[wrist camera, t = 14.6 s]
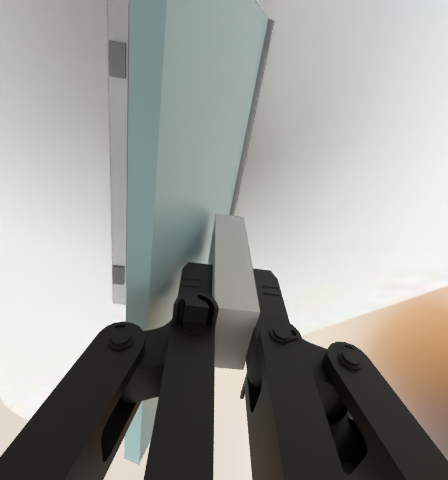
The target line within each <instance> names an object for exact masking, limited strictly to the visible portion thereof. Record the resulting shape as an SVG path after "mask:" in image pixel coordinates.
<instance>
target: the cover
mask: <svg viewBox="0 0 448 480" xmlns="http://www.w3.org/2000/svg"><path fill="white" fill-rule="evenodd" d="M273 25H274V21H273V20H270V19H268V17H267V16H266V14H265V13H264V12H263V10H262V9H261V8H260V6H259V5H258V4H257V2H256V1H255V0H130V14H129V103H128V192H127V281H126V322H130V323H134V324H136V325H138V326H140V328H141V329H142V330H143V331H146V330H152V329H156V328H160V327H162V326H164V325H166V324H167V323H168V322H170V321H171V319H172V316H173V306H174V302H175V300H176V298H177V296H178V291H179V285H180V279H181V273H182V269H183V267H184V266H185V265H186V264H187V263H188V262H194V263H202V264H208V258H209V252H210V246H211V239H212V233H213V227H214V220H215V214H216V213H218V214H225V215H232V216H234V213H235V208H236V203H237V198H238V193H239V189H240V184H241V179H242V174H243V169H244V164H245V160H246V155H247V150H248V145H249V140H250V136H251V131H252V126H253V121H254V116H255V112H256V107H257V102H258V97H259V92H260V87H261V83H262V78H263V73H264V68H265V63H266V59H267V54H268V49H269V44H270V39H271V35H272V30H273ZM158 398H159V397H155V398H152V399H148V400H144V401H141V404H140V406H139V408H138V410H137V412H136V414H135V416H134V418H133V420H132V422H131V424H130V426H129V428H128V430H127V432H126V434H125V459H127V460H130V461H132V462H134V463H136V464H138V465H139V463H140V461H141V459H142V457H143V455H144V453H145V451H146V448H147V446H148V444H149V442H150V440H151V437H152V431H153V426H154V420H155V414H156V409H157V403H158Z"/></svg>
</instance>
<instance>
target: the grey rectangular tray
mask: <svg viewBox="0 0 448 480" xmlns="http://www.w3.org/2000/svg"><path fill="white" fill-rule="evenodd" d="M129 14H130V0H107V15H108V69H109V124H110V179H111V233H112V288H113V303H115V304H125V305H126V281H127V192H128V103H129Z"/></svg>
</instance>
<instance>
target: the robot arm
mask: <svg viewBox="0 0 448 480" xmlns="http://www.w3.org/2000/svg"><path fill="white" fill-rule="evenodd" d="M245 362H246V364H247V374H246V377H245V381H244V384H243V387H242V391H241V396H240V398H241V399H243V398H244V395H245V398H246V410H247V421H248V433H249V444H250V456H251V467H252V479H253V480H448V461H447V459H446V458H445V457H444V455H443V454H442V453H441V451H440V450H439V449H438V448H437V446H436V445H435V444H434V442H433V441H432V440H431V439H430V437H429V436H428V435H427V433H426V432H425V431H424V430H423V428H422V427H421V426H420V424H419V423H418V422H417V420H416V419H415V418H414V416H413V415H412V414H411V413H410V411H409V410H408V409H407V407H406V406H405V405H404V404H403V402H402V401H401V400H400V398H399V397H398V396H397V394H396V393H395V392H394V391H393V389H392V388H391V387H390V385H389V384H388V383H387V381H386V380H385V379H384V378H383V376H382V375H381V374H380V372H379V371H378V370H377V368H376V367H375V366H374V365H373V363H372V362H371V361H370V359H369V358H368V357H367V356H366V355H365V354H364V353H363V352H362V351H361V350H360V349H358V348H357V347H355V346H354V345H351V344H348V343H346V342H335V343H332V344H331V345H330V346H329V348H328V349H325V348H322V347H320V346H317V345H314V344H311V343H309V342H307V341H305V340H304V339H302V337H301V335H300V333H299V331H298V330H297V329H296V328H295V327H294V326H293V325H291V324H290V322H289V319H288V315H287V312H286V308H285V305H284V301H283V297H282V294H281V290H280V287H279V283H278V280H277V278H276V277H275V276H274V274H273V273H272V272H271V271H268V270H260V269H253V268H252V262H251V256H250V250H249V245H248V239H247V233H246V227H245V222H244V217H240V216H232V215H225V214H218V213H216V214H215V220H214V227H213V233H212V239H211V246H210V252H209V258H208V264H202V263H194V262H188V263H187V264H186V265H185V266H184V267H183V269H182V273H181V279H180V285H179V291H178V296H177V298H176V300H175V302H174V306H173V316H172V319H171V321H170V322H168V323H167V324H166V325H164V326H162V327H160V328H156V329H152V330H146V331H143V330H142V329H141V328H140V326H138V325H136V324H134V323H130V322H118V323H113V324H111V325H109V326H107V327H105V328H104V329H103V330H102V331H101V332H99V334H98V335H97V336H96V337H95V339H94V340H93V341H92V342H91V344H90V345H89V346H88V347H87V349H86V350H85V351H84V352H83V354H82V355H81V356H80V358H79V359H78V360H77V361H76V363H75V364H74V365H73V366H72V368H71V369H70V370H69V371H68V373H67V374H66V375H65V376H64V378H63V379H62V380H61V381H60V383H59V384H58V385H57V386H56V388H55V389H54V390H53V391H52V393H51V394H50V395H49V397H48V398H47V399H46V400H45V402H44V403H43V404H42V405H41V407H40V408H39V409H38V410H37V412H36V413H35V414H34V415H33V417H32V418H31V419H30V420H29V422H28V423H27V424H26V425H25V427H24V428H23V429H22V431H21V432H20V433H19V434H18V436H17V437H16V438H15V439H14V441H13V442H12V443H11V444H10V446H9V447H8V448H7V449H6V451H5V452H4V453H3V455H2V456H1V457H0V480H103V479H104V477H105V475H106V473H107V471H108V469H109V467H110V464H111V463H112V461H113V459H114V457H115V454H116V452H117V450H118V448H119V446H120V444H121V442H122V440H123V438H124V436H125V434H126V432H127V430H128V428H129V426H130V424H131V422H132V420H133V418H134V416H135V414H136V412H137V410H138V408H139V406H140V404H141V401H144V400H148V399H152V398H155V397H159V398H158V403H157V409H156V414H155V420H154V426H153V431H152V437H151V442H150V448H149V453H148V459H147V465H146V471H145V476H144V480H213V445H214V444H213V443H214V441H213V440H214V439H213V438H214V367H218V368H230V369H231V368H232V369H242V370H243V368H244V365H245Z"/></svg>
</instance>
